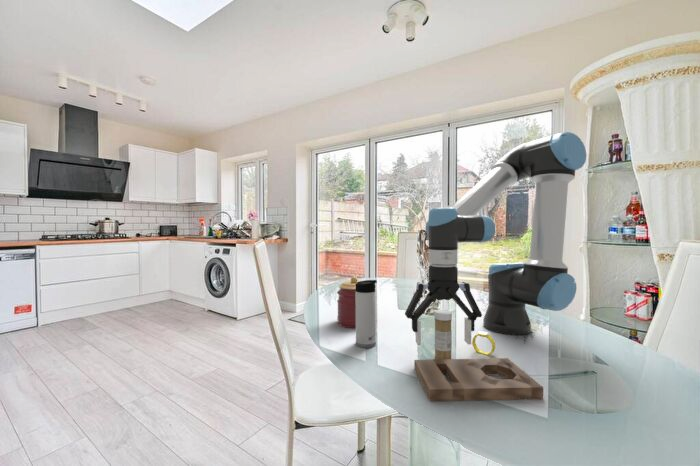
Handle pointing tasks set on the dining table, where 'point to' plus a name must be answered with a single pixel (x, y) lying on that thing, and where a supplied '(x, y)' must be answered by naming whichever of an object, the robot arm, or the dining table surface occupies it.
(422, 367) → the socket plate
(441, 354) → the sprinkles bottle
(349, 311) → the canister
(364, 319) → the travel mug
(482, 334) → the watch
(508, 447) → the dining table surface
